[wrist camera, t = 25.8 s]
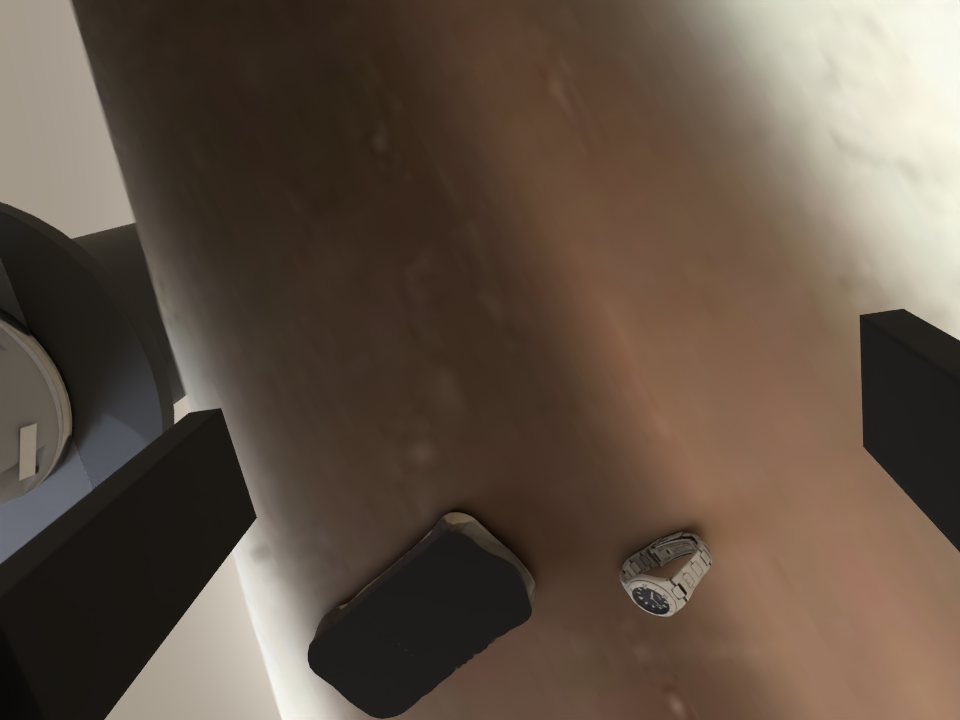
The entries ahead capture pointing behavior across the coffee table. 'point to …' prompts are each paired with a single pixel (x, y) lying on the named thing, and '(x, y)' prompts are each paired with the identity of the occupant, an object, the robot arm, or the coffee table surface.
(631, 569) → the wristwatch
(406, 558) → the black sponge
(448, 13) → the coffee table surface
